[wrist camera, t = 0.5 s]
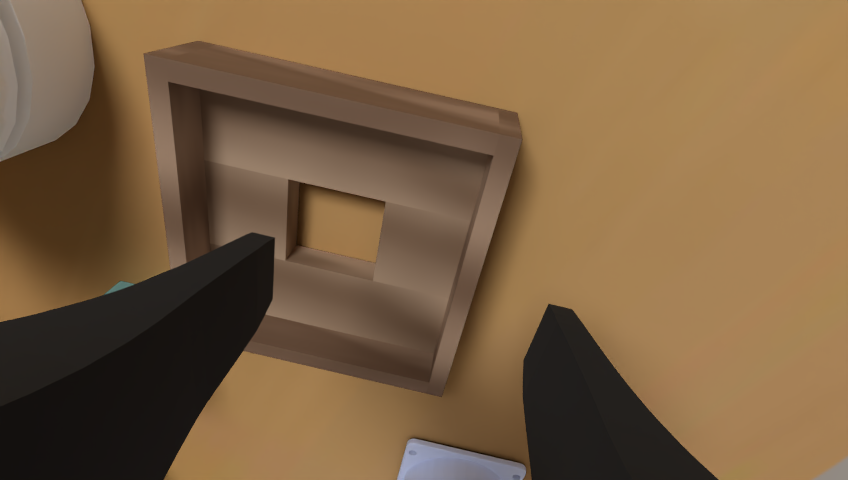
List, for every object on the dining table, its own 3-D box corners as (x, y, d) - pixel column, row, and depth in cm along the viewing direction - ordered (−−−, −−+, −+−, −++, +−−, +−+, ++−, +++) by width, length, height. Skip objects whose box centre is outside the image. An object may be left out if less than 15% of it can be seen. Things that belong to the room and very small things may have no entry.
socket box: (447, 347, 26) (441, 397, 23) (214, 294, 26) (178, 335, 23) (517, 112, 19) (522, 139, 16) (198, 40, 19) (143, 53, 16)
